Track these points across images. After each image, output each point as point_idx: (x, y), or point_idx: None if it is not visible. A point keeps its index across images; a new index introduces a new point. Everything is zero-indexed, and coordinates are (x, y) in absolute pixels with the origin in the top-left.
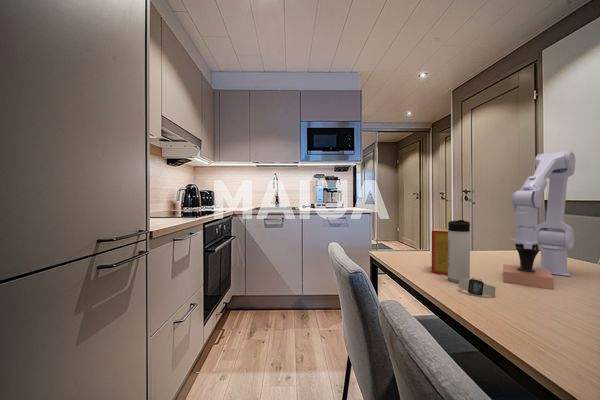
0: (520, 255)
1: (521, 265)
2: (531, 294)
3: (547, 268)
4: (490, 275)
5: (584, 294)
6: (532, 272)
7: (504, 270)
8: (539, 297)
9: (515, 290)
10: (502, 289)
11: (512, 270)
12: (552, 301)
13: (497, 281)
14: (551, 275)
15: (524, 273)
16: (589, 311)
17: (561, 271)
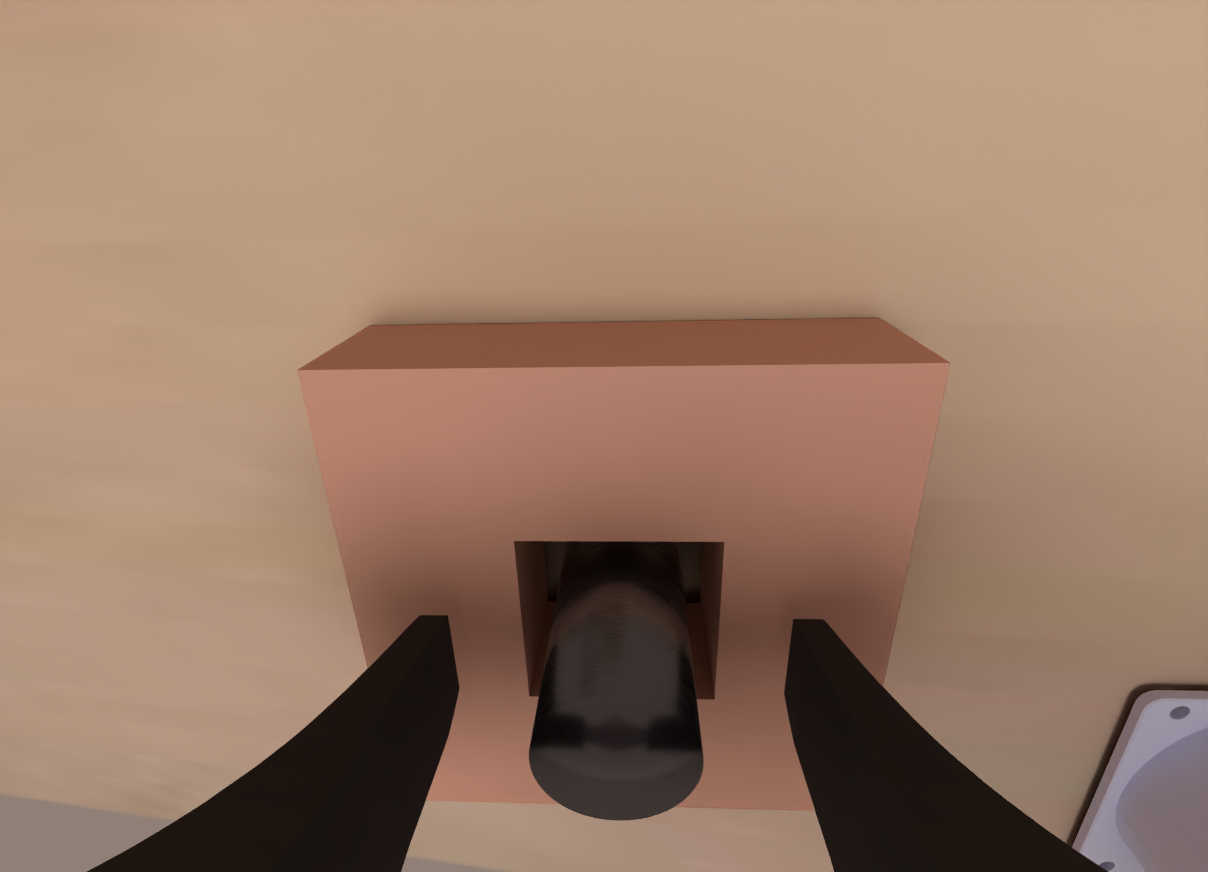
0: (216, 807)
1: (566, 632)
2: (96, 543)
3: (1194, 787)
4: (660, 149)
5: (449, 829)
6: (711, 658)
7: (381, 381)
8: (60, 587)
9: (106, 432)
10: (16, 316)
11: (475, 481)
12: (35, 649)
13: (353, 256)
14: (506, 800)
15: (387, 598)
16: (16, 782)
17: (1134, 854)
